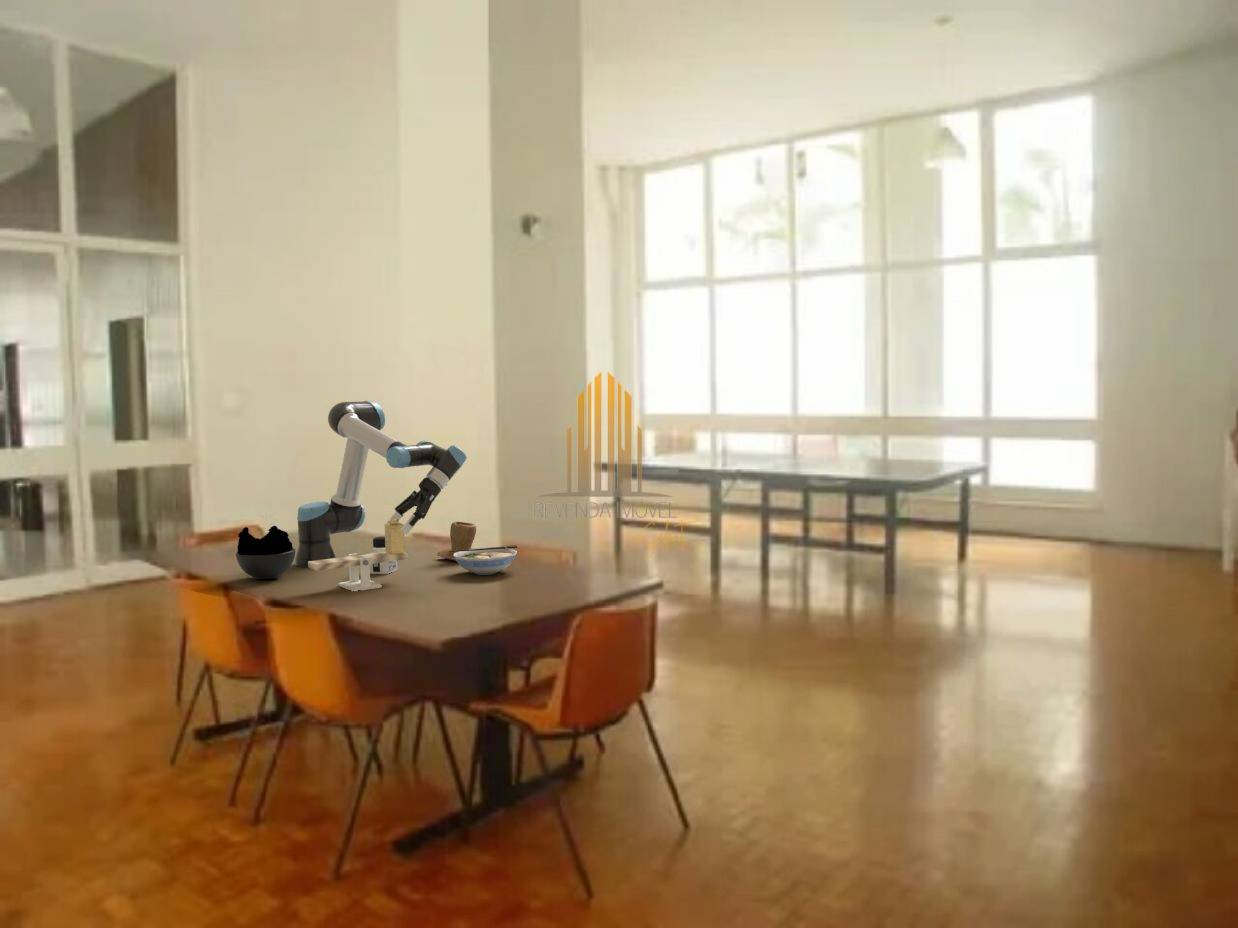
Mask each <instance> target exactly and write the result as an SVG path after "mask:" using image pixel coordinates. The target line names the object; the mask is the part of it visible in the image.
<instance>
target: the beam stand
mask: <svg viewBox="0 0 1238 928" xmlns="http://www.w3.org/2000/svg"><path fill="white" fill-rule="evenodd" d="M358 555H359V553H350V554H347V557H349V556H358ZM348 577H349V578H348V581H342V582H338V586H339V587H341V588H343V589H346V590H349V591H350V590H351V591H350V592H353V591H354V592H358V590H361V591H365V590H366V591H367V590H373V589H380V588H382V584H381V583H379V582H377V581H373V580H371V574H370V562H369V557H365V558H360V565H358V566H350V567H348Z"/></svg>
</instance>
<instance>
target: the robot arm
mask: <svg viewBox="0 0 1238 928" xmlns="http://www.w3.org/2000/svg"><path fill="white" fill-rule="evenodd" d="M327 423H328V425H329V427H330V428H331V430H332V431H333V432H334V433H336V434H337V435H339V436H340V437H343V438H347V439H346V443H345V450H344V454H343V459H342V464H341V468H340V469H341V470H340V475H339V478H338V484H337V489H336V493H334V494H333V495H332V496H331V498H330V503H329V502H327V501H315V502H308V503H305V504H302V505H301V506H299V507H298V509H297V528H298V529H297V531H298V533H297V534H298V546H297V551H296V553H295V557H294V566H296V567H297V568H298V567H299V568H308V561H316V560H324V559H333V558H337V557H336V554H335V551H334V548H333V546H332V543H331V535H335V534H340V533H351V532H353V531H356V530H358V529H359V528H360V527H362V526H363V524H364V522H365V520H366V519H365V518H366V512H365V507H364V505H363V504H362V500H361V498H360V497H359V496H360V491H361V487H362V483H363V479H364V478H363V477H364V474H365V468H366V463H367V459H368V453H369V450H371V451H372V452H374V453H376V454H378V455H380V456H382V457H383V458H385V459H386V462H387V463H388V465H389V467H391V468H393V469H397V468H398V469H404V468H411V467H420V466H431V468H430V470H429V471H428V473H427V474H426V475H425V477H423V479H422V480H421V481H420V482H419V483H418V487H419V490H418V491H417V490H413V492H411V494H410V495H408V496H407V497H406V498H405V499H403V501H402V502H400V503H399V504H398V505H397V506H396V507H395V508H394V510H395V512H394V513H393V515H392V516H391V517H390V518H389V520H388V521H387V522H386V523H385V524H390V520H393V519H398V520H399V521H400V520H401V519H402V517H404V514H405V513H407V512H408V511H410V510H411V509H412V508H414V507H416V508H415V512H413V513H412V515H411V516H409V518H408V519H407V521H406V522H405V523H404V526H403V527H402V528H401V531H402V532H403V533H405V535H406V536H407V535H408V534H409V533H410V531H411V530H412V529H413V528H414V527H415V525H416V524H417V523H418V522H419V521H420V520H421V519H422V520H423V519H425V518H426V517H427V514H428V512H429V510H430V507H431V506H432V504H433V503H434V501H435V499H437V497H438V496H439V494H440V493H441V492H442V490H443V489H444V488H445V487H447V486H448V483H449V482H450V480H452V478H453V477H454V476H455V474H456V473H457V472H458V471H459V470H460V469H461V468H462V466H463V465H464V464H465V462H466V460H467V454H466V453H465V451H463V450H462V449H461V448H460V447H459V446H456V445H450V446H449V447H448V448H447V449H446V448H443V447H441V446H439V445H437V444H435V443H433V442H431V441H428V440H421V441H419V442H417V443H416V444H413V445H412V444H411V445H407V444H404V443H403V442H400V441H399V440H397V439H396V438H394V437H392V436H390V435H388V434H387V433H384V432H382V430H383V428H384V427H385V425H386V415H385V412H384V409H383V408H382V406H381V405H380V404H379V403H377V402H376V401H371V400H370V401H368V400H364V401H342V402H339V403H336V404H334V405H333V406H332V408H331V409H330V411H329V412H328V416H327ZM385 524H384V527H385Z"/></svg>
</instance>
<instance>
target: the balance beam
mask: <svg viewBox="0 0 1238 928" xmlns="http://www.w3.org/2000/svg"><path fill="white" fill-rule="evenodd" d="M365 557H369V562H370V564H374V563H382V562H390V561H397V562H398V561H403V560H404V561H406V560H409V553H408V552H405V553H401V554H393V555H391V554H388V553H386V552H383V553H374V554H368V553H367V554H360V555H359V554H358V556H349V557H348V556H341V557H336V558H333V559H324V560H316V561H308V567H307V568H309V569H311V570H314V571H316V572H317V571H318V572H319V571H326V570H332V569H341V568H349V567H350V566H358V567H359V566H360V558H365Z"/></svg>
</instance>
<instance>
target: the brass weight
mask: <svg viewBox="0 0 1238 928" xmlns="http://www.w3.org/2000/svg"><path fill="white" fill-rule="evenodd" d="M384 525H385V526H384V536H385V548H386V553H388V554H391V555H393V554H401V553H406V540H405V535H406V534H405V533H403V532H402V531H401V528H402V527H403V526H404V525H405V523H400V520H398V519H393V520H390V524H386V523H384Z"/></svg>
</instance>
